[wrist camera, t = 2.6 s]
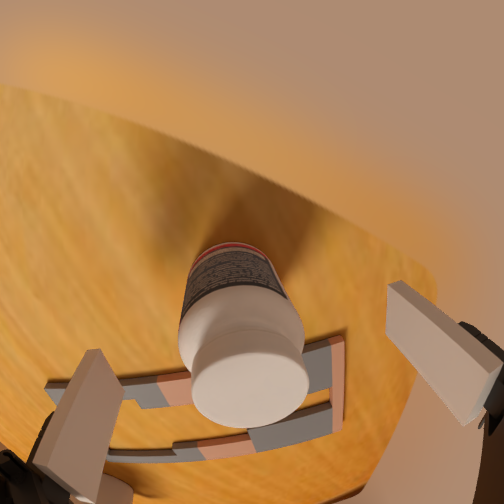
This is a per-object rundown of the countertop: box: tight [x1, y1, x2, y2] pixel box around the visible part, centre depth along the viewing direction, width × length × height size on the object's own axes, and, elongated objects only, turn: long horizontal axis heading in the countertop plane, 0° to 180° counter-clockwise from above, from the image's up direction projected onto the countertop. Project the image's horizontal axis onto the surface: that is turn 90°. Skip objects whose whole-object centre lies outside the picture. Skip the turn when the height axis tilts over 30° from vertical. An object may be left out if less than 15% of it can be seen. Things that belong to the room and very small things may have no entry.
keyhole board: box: [44, 335, 344, 463], centre depth 20 cm, size 12×25×1 cm, turn 101°
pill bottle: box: [178, 242, 309, 428], centre depth 13 cm, size 5×5×9 cm
